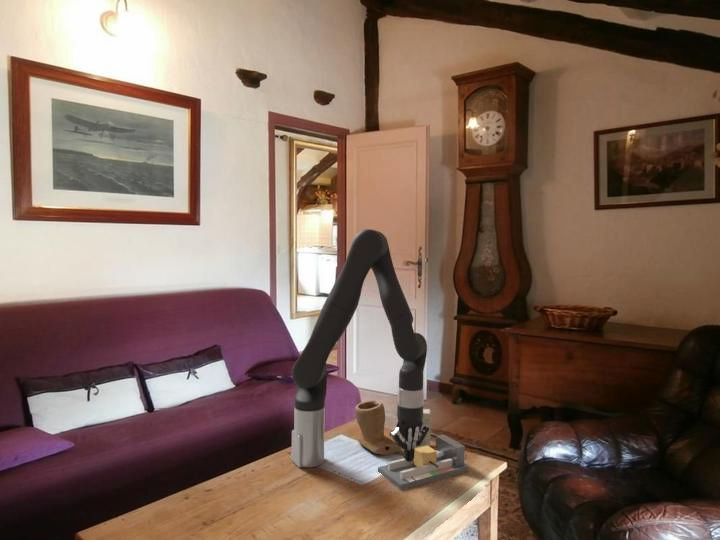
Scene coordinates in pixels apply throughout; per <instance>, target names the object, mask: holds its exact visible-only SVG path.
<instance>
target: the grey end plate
mask: <svg viewBox="0 0 720 540" xmlns="http://www.w3.org/2000/svg"><path fill="white" fill-rule="evenodd" d="M465 448H466V446H465V444H462V443H460V442H458V441H456V440H455V439H453V438H452V437H449V436H447V435H446V434H439V435H436V437H435V450H436V451H443V452H444V456H442V457H440V458H442V459H443V460H446V459H452V465H453V466H454V467H456V468H457V467H461V466H464V465H465V456H466V455H465V453H466V451H465V450H466V449H465Z"/></svg>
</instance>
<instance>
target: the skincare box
mask: <svg viewBox="0 0 720 540" xmlns="http://www.w3.org/2000/svg"><path fill="white" fill-rule="evenodd" d="M422 421H423V425H425V426H427V427H428V428H429V431H428V433H427V434H426V436H425V438H424V439H423V441H422V443H421V444H420V446H416V448H418V447H423V446H429V447H431V409H430V408H423V419H422ZM419 438H420V437H419ZM418 440H419V439H418Z"/></svg>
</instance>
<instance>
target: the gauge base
mask: <svg viewBox="0 0 720 540" xmlns="http://www.w3.org/2000/svg"><path fill="white" fill-rule="evenodd" d="M437 452H438V451H437ZM434 464H436V465H438V466H439V467H438V468H437V467H436V466H434V465H433V464H427V465H423V466H419V467H417V466H415V465H414V464H413V461H411V462H407V461H406V460H405V459H404V458H401V459H396V460H393V461H389V462H387V464H386V465H382V466H378V467H377V473H378V472H379V473H381V474H382V475H383V476H384V477H383V476H382V475H381V474H380V475H381V476H382V477H383V478H384V479H386V480H387V479H388V480H389V481H388V480H387V481H388V482H389V483H391V482H392V483H393V484H394V485H393V484H392V483H391V484H392V485H393V486H394V487H396V486H397V487H398V488H399V489H398V488H397V487H396V488H397V489H398V490H399V491H404V490H405V489H406V488H407V489H410V488H413V487H417V486H420V485H424V484H428V483H431V482H434V481H439V480H442V479H445V478H449V477H452V476H457V475H460V474H464V473H466V472H468V470H469V467H468V465H466V464H464V466H461V467H457V468H456V467H454V466H453V465H452V459H446V460H443V459H442V458H440V457H438V458H436V462H435V463H434ZM379 473H378V474H379Z"/></svg>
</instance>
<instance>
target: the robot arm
mask: <svg viewBox="0 0 720 540" xmlns="http://www.w3.org/2000/svg"><path fill="white" fill-rule="evenodd" d="M370 269H371V270H372V273H373V275H374V278H375V280H376V284H377V288H378V292H379V299H380V301H381V305H382V307H383V310H384V311H383V312H384V313H385V316H386V318H387V320H388V323H389V325H390V329H391V335H392V340H393V344H394V345H393V346H394V347H395V350H396V353H397V354H398V356H399V357H400V358H401V359H402V361H403V362H402V366H401V367H400V369H399V373H398V389H397V390H398V391H397V404H396V405H397V406H396V407H397V408H396V417H397V424H396V428H395V430H394V431H392V430H391V431H390V432H389V436H390V437H391V439H392V440H393V441H394V442H396V444H397V445H398V446H399V447H401V448H402V449H403V459H405V460H406V461H407V462H411V461H413V459H414V454H415V448H416V446H420V444H421V443H422V441H423V439H424V438H425V436H426V434H427V433H428V431H429V428H428V427H427V426H425V425H423V421H422V419H423V409H424V405H425V404H424V402H425V401H424V399H425V397H424V396H425V395H424V370H425V366H426V360H427V356H428V355H427V353H428V344H427V340H426V338H425V336H424V335H422V334H421V333H419V332H415V331H414V327H413V322H414V316H413V313H412V311H411V308H410V306H409V304H408V301H407V298H406V296H405V294H404V291H403V289H402V287H401V285H400V282H399V279H398V276H397V273H396V270H395V267H394V263H393V260H392V255H391V250H390V246H389V243H388V239H387V237H386V236H385V235H384V233H382V232H381V231H378V230H376V229H375V230H374V229H371V228H370V229H369V228H368V229H367V228H366V229H363V230H361V231H359V232H358V233H356V235H355V236H354V238H353V240H352V243H351V245H350V248H349V250H348V254H347V257H346V259H345V262H344V264H343V267H342V268H341V271H340V273H339V275H338V277H337V278H336V279H335V282H334V284H333V286H332V288H331V289H330V292H329V293H328V295H327V298H326V299H325V302H324V303H323V305H322V308H321V309H320V312H319V315H318V317H317V319H316V322H315V323H314V327H313V330H312V332H311V334H310V338H309V340H308V341H307V343H306V345H305V346H304V349H303V350H302V352H301V353H300V355H299V356H298V358H297V360H296V361H295V362H294V364H293V367H292V369H291V370H292V371H291V376H292V380H293V382H294V384H295V385H296V387H297V388H296V393H295V396H294V403H293V406H294V407H293V408H294V409H293V411H294V415H293V416H294V418H293V421H294V422H293V423H294V424H293V425H294V427H293V429H292V430H291V461H292V462H293V463H294V464H295V465H296V466H297V467H298V468H313V467H319V466H321V465H323V463H324V462H325V414H326V412H325V408H326V407H325V406H326V404H325V403H326V397H327V385H328V384H327V382H328V366H327V362H328V358H329V356H330V355H331V352H332V351H333V348H334V347H335V346H336V344H337V343H338V342H339V341H340V339H341V337H343V334H344V333H345V332H346V330H347V328H348V326H349V324H350V323H351V321H352V319H353V318H354V315H355V313H356V311H357V308H358V306H359V303H360V299H361V294H362V289H363V286H364V282H365V280H366V277H367V276H368V273H369V272H370ZM419 437H420V438H419ZM418 439H419V440H418ZM402 449H401V450H402Z"/></svg>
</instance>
